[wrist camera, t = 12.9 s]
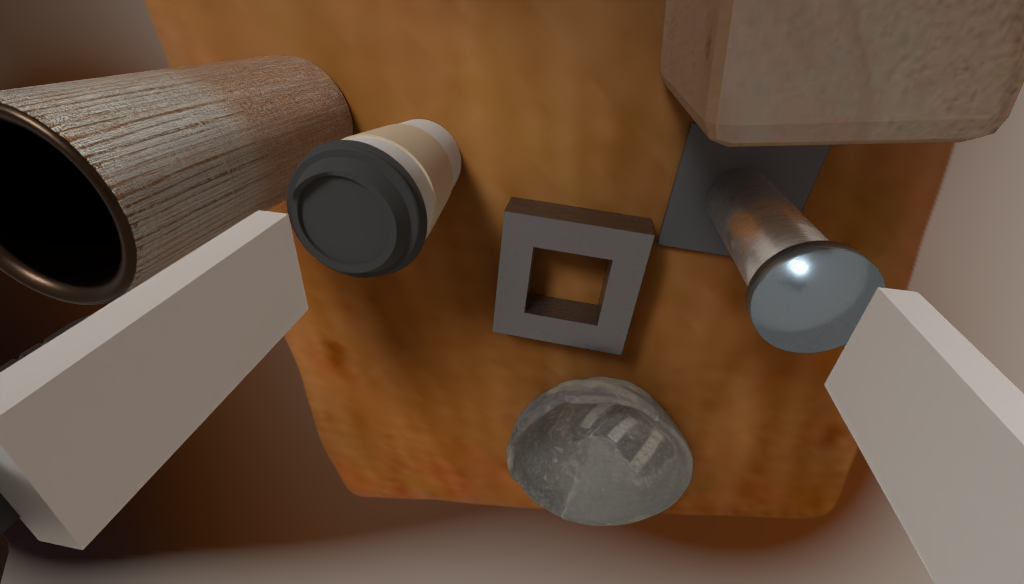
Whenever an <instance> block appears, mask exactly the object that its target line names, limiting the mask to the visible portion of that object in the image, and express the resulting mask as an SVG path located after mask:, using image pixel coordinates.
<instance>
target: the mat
mask: <svg viewBox="0 0 1024 584" xmlns="http://www.w3.org/2000/svg"><path fill="white" fill-rule="evenodd" d="M830 146H831V145H789V146H739V147H727V146H725V145H722V144H720V143H717V142H715V141H712V140H710V139H709V138H708V137H707V136H706V134H705V133H704V132H703V131H702V129H701V128H700V127H699V126H698V124H697V123H692V122H691V125H690V128H689V132H688V135H687V139H686V142H685V146H684V149H683V153H682V156H681V160H680V163H679V167H678V170H677V174H676V177H675V181H674V184H673V188H672V191H671V195H670V198H669V202H668V205H667V209H666V212H665V216H664V219H663V223H662V226H661V230H660V233H659V237H658V240H657V244H658V245H663V246H670V247H676V248H682V249H688V250H694V251H701V252H707V253H713V254H719V255H725V256H731V255H730V253H729V251H728V250H727V248H726V246H725V244H724V242H723V240H722V238H721V236H720V235H719V233H718V231H717V229H716V227H715V225H714V223H713V222H712V220H711V218H710V216H709V214H708V212H707V210H706V205H705V199H706V194H707V191H708V189H709V187H710V186H711V184H712V183H713V182H714V181H715V179H717V178H718V177H719V176H720V175H722V174H723V173H725V172H727V171H730V170H733V169H737V168H750V169H754V170H756V171H758V172H760V173H761V174H763V175H764V176H765V177H766V178H767V179H768V180H769V181H770V182H771V183H772V184H773V185H774V186H775V187H776V188H777V189H778V190H779V191H780V192H781V193H782V194H783V195H784V196H785V197H786V198H787V199H788V200H789V201H790V202H791V203H792V204H793V205H794V206H795V207H796V208H797V209H798V210H799V211H800V212H802V210H803V207H804V205H805V203H806V200H807V198H808V196H809V194H810V191H811V189H812V187H813V185H814V182H815V180H816V178H817V176H818V173H819V171H820V169H821V167H822V164H823V162H824V160H825V158H826V155H827V153H828V151H829V149H830Z"/></svg>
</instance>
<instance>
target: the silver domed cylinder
mask: <svg viewBox="0 0 1024 584" xmlns="http://www.w3.org/2000/svg"><path fill="white" fill-rule="evenodd" d="M705 205H706V210H707V212H708V214H709V216H710V218H711V220H712V222H713V223H714V225H715V227H716V229H717V231H718V233H719V235H720V236H721V238H722V240H723V242H724V244H725V246H726V248H727V250H728V251H729V253H730V255H731V257H732V259H733V261H734V263H735V265H736V266H737V268H738V270H739V272H740V274H741V276H742V278H743V279H744V281H745V283H746V285H747V291H746V301H745V302H746V309H747V311H748V314H749V316H750V318H751V320H752V322H753V324H754V326H755V328H756V330H757V332H758V333H759V334H760V336H761V337H762V338H763V339H764V340H766V341H767V342H768V343H770V344H771V345H773V346H775V347H777V348H780V349H782V350H785V351H790V352H796V353H816V352H822V351H827V350H831V349H834V348H837V347H840V346H842V345H844V344H847V342H848V341H849V339H850V337H851V335H852V333H853V332H854V330H855V328H856V326H857V324H858V322H859V321H860V319H861V317H862V315H863V313H864V312H865V310H866V308H867V306H868V304H869V303H870V301H871V299H872V297H873V295H874V293H875V292H876V290H877V288H878V287H881V288H886V287H885V282H884V279H883V277H882V275H881V273H880V272H879V270H878V269H877V268H876V267H875V266H874V265H873V264H872V263H871V262H870V261H869V260H868V259H867V258H866V257H865V256H864V255H863V254H861V253H860V252H859V251H857V250H856V249H854V248H853V247H851V246H849V245H846V244H843V243H840V242H835V241H829V240H828V239H827V238H826V237H825V236H824V235H823V234H822V233H821V232H820V231H819V230H818V229H817V228H816V227H815V226H814V225H813V224H812V223H811V222H810V221H809V220H808V219H807V218H806V217H805V216H804V215H803V214H802V213H801V212H800V211H799V210H798V209H797V208H796V207H795V206H794V205H793V204H792V203H791V202H790V201H789V200H788V199H787V198H786V197H785V196H784V195H783V194H782V193H781V192H780V191H779V190H778V189H777V188H776V187H775V186H774V185H773V184H772V183H771V182H770V181H769V180H768V179H767V178H766V177H765V176H764V175H763V174H761V173H760V172H758V171H756V170H754V169H750V168H737V169H733V170H730V171H727V172H725V173H723V174H722V175H720V176H719V177H718V178H717V179H715V181H714V182H713V183H712V184H711V186H710V187H709V189H708V191H707V194H706V199H705Z"/></svg>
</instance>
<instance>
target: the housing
mask: <svg viewBox="0 0 1024 584" xmlns="http://www.w3.org/2000/svg"><path fill="white" fill-rule="evenodd" d="M654 237H655V234H654V229H653V225H652V220H651V219H649V218H643V217H637V216H630V215H624V214H617V213H611V212H605V211H598V210H592V209H586V208H579V207H573V206H566V205H560V204H554V203H547V202H541V201H535V200H528V199H522V198H515V197H511V199H510V201H509V203H508V205H507V207H506V209H505V211H504V220H503V230H502V240H501V250H500V260H499V271H498V281H497V291H496V301H495V311H494V321H493V331H492V332H497V333H503V334H508V335H514V336H519V337H525V338H530V339H535V340H541V341H546V342H552V343H557V344H563V345H568V346H574V347H579V348H584V349H590V350H595V351H601V352H606V353H612V354H617V355H621V354H622V350H623V347H624V343H625V340H626V336H627V333H628V329H629V326H630V322H631V318H632V315H633V311H634V308H635V304H636V301H637V297H638V293H639V290H640V286H641V283H642V279H643V276H644V272H645V269H646V265H647V261H648V258H649V254H650V251H651V247H652V244H653V240H654ZM536 247H537V248H543V249H549V250H555V251H561V252H567V253H573V254H579V255H585V256H591V257H597V258H603V259H609V260H608V264H607V268H606V272H605V277H604V281H603V285H602V290H601V294H600V298H599V303H598V305H594V304H588V303H582V302H576V301H571V300H565V299H559V298H554V297H548V296H542V295H536V294H531V293H530V286H531V279H532V272H533V265H534V258H535V250H536Z"/></svg>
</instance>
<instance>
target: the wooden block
mask: <svg viewBox="0 0 1024 584" xmlns="http://www.w3.org/2000/svg"><path fill="white" fill-rule="evenodd" d="M660 74H661V77H662V80H663V83H664V84H665V85H666V86H667V87H668V89H669V90H670V91H671V92H672V94H673V95H674V96H675V97H676V99H677V100H678V101H679V102H680V104H681V105H682V106H683V107H684V108H685V110H686V111H687V112H688V113H689V115H690V116H691V117H692V118H693V120H694V121H695V122H696V123H697V124H698V126H699V127H700V128H701V129H702V131H703V132H704V133H705V134H706V136H707V137H708V138H709V139H710V140H712V141H715V142H717V143H720V144H722V145H725V146H727V147H739V146H789V145H839V144H889V143H939V142H962V141H967V140H971V139H975V138H979V137H982V136H985V135H989V134H993V133H995V132H996V131H997V129H998V128H999V127H1000V126H1001V125H1002V123H1003V122H1004V121H1005V120H1006V119H1007V118H1008V117H1009V115H1010V112H1011V110H1012V108H1013V106H1014V103H1015V101H1016V99H1017V96H1018V94H1019V92H1020V89H1021V87H1022V85H1023V82H1024V0H666V4H665V16H664V28H663V39H662V51H661V63H660Z"/></svg>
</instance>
